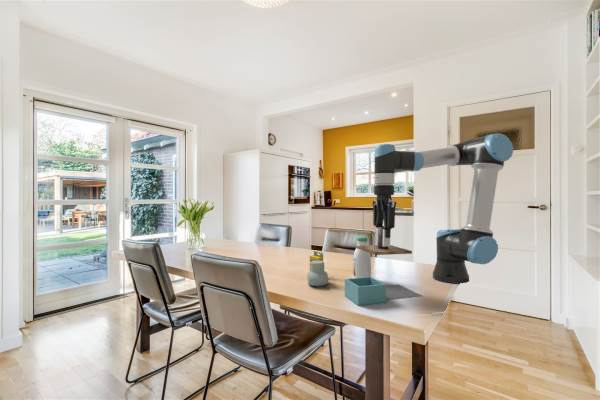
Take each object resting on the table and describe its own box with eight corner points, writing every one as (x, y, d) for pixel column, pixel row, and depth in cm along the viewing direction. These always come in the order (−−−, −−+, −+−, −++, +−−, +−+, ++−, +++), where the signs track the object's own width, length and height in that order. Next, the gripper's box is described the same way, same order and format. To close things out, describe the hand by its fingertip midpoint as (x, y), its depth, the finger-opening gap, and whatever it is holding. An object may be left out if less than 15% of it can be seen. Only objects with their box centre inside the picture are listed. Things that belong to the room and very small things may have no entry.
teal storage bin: (370, 294, 117) (370, 276, 117) (386, 304, 107) (386, 284, 107) (344, 297, 114) (344, 278, 114) (358, 307, 104) (358, 287, 104)
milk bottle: (374, 281, 136) (374, 237, 136) (365, 285, 130) (365, 238, 130) (359, 278, 141) (359, 235, 141) (350, 281, 135) (350, 237, 135)
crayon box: (309, 275, 147) (309, 251, 146) (314, 274, 148) (314, 251, 148) (318, 278, 141) (318, 253, 140) (323, 277, 142) (323, 253, 142)
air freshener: (328, 288, 126) (328, 264, 126) (309, 288, 125) (309, 264, 125) (325, 281, 137) (325, 259, 136) (306, 281, 136) (306, 259, 136)
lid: (389, 247, 126) (389, 225, 126) (411, 253, 111) (412, 229, 111) (356, 248, 122) (357, 226, 122) (375, 255, 107) (375, 229, 107)
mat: (398, 285, 129) (398, 284, 129) (423, 297, 114) (423, 296, 114) (364, 288, 125) (364, 287, 125) (386, 301, 110) (386, 300, 110)
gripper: (364, 185, 124) (363, 242, 124) (387, 183, 107) (386, 249, 107) (381, 186, 126) (380, 242, 126) (405, 184, 109) (404, 248, 109)
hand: (383, 245), depth 116 cm, fingers closed on lid, 4 cm apart
